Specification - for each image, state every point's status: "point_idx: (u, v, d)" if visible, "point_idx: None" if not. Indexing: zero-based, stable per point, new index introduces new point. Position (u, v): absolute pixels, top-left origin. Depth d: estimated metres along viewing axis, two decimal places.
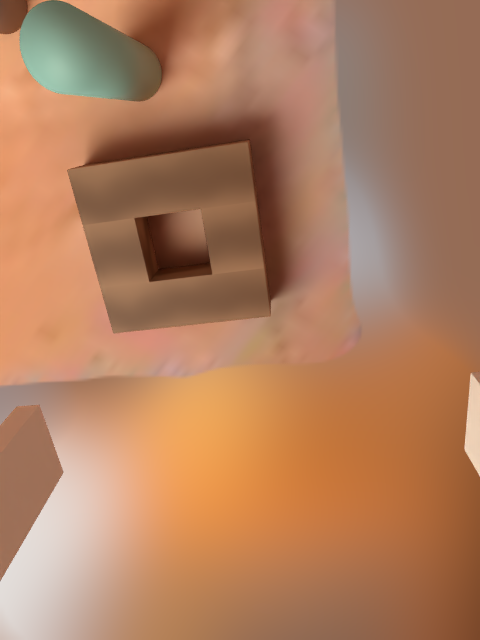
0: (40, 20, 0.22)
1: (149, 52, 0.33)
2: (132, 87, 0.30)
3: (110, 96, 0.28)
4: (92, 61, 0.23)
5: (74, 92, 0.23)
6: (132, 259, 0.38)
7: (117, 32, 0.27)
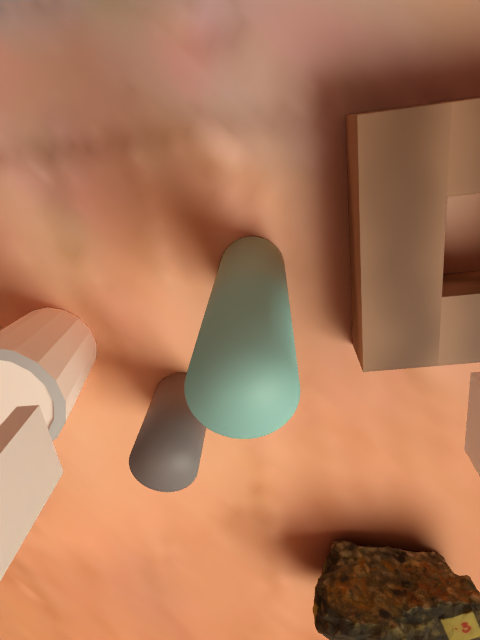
0: (207, 408, 0.16)
1: (232, 251, 0.26)
2: (278, 282, 0.22)
3: (290, 316, 0.21)
4: (259, 352, 0.15)
5: (298, 382, 0.16)
6: None
7: (215, 296, 0.20)
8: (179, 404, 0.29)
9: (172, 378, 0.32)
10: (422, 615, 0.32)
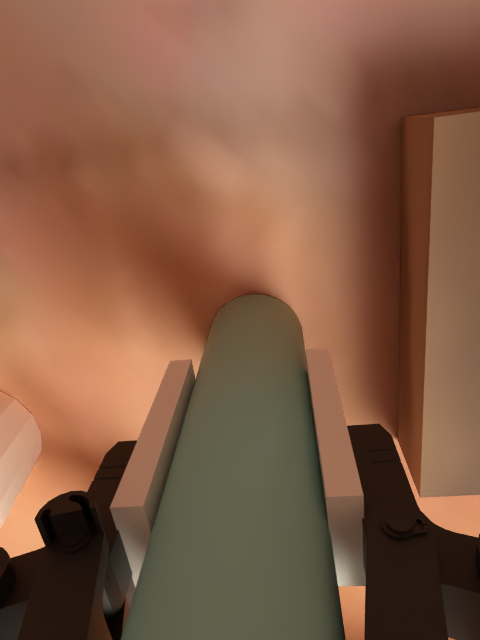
0: None
1: (226, 322, 0.17)
2: (297, 398, 0.13)
3: None
4: None
5: None
6: None
7: (189, 439, 0.11)
8: None
9: None
10: None
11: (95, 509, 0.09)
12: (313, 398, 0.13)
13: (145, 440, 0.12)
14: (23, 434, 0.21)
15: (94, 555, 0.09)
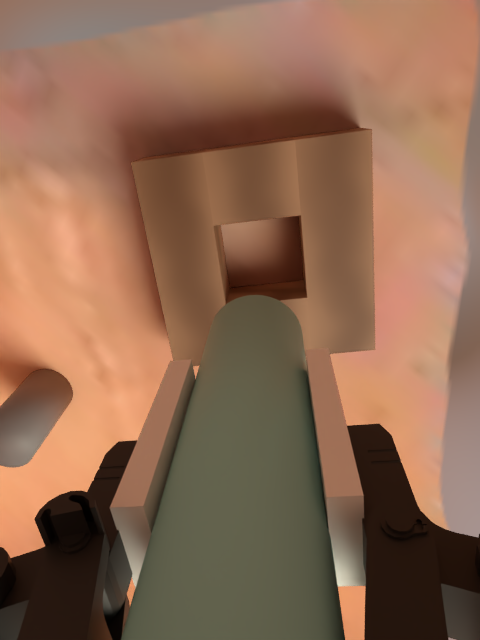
0: None
1: (225, 323, 0.17)
2: (297, 399, 0.13)
3: None
4: None
5: None
6: None
7: (189, 440, 0.11)
8: (29, 395, 0.34)
9: (34, 373, 0.37)
10: None
11: (95, 509, 0.09)
12: (313, 398, 0.13)
13: (145, 440, 0.12)
14: None
15: (94, 555, 0.09)
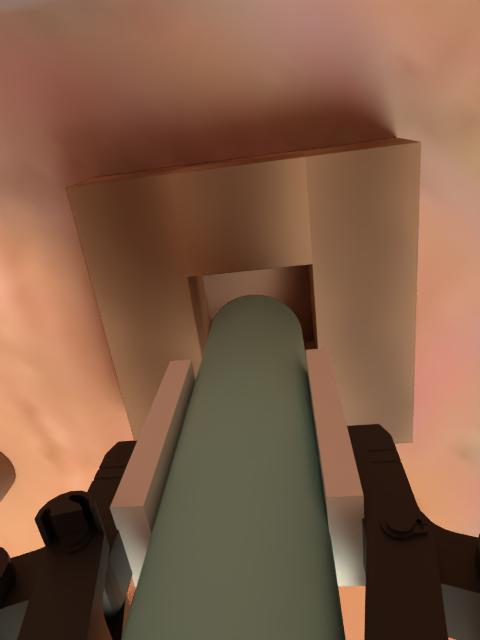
0: None
1: (226, 323, 0.17)
2: (297, 399, 0.13)
3: None
4: None
5: None
6: None
7: (189, 440, 0.11)
8: None
9: None
10: None
11: (95, 509, 0.09)
12: (313, 398, 0.13)
13: (145, 440, 0.12)
14: None
15: (94, 555, 0.09)
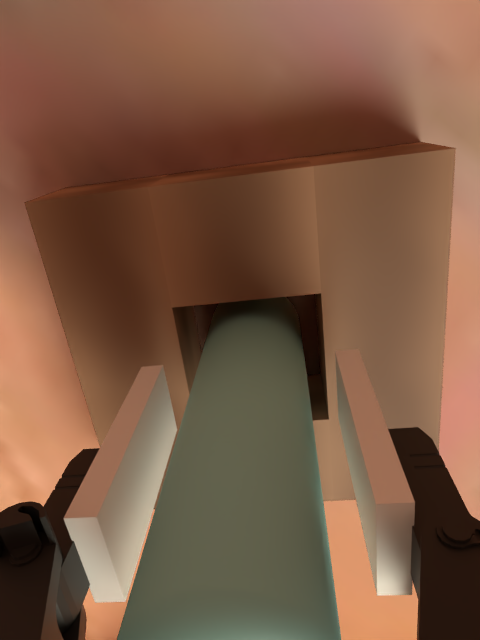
0: None
1: (227, 312, 0.18)
2: (294, 380, 0.14)
3: (315, 443, 0.13)
4: (263, 610, 0.07)
5: None
6: None
7: (193, 415, 0.12)
8: None
9: None
10: None
11: (45, 518, 0.09)
12: (349, 400, 0.12)
13: (107, 448, 0.12)
14: None
15: (46, 565, 0.09)
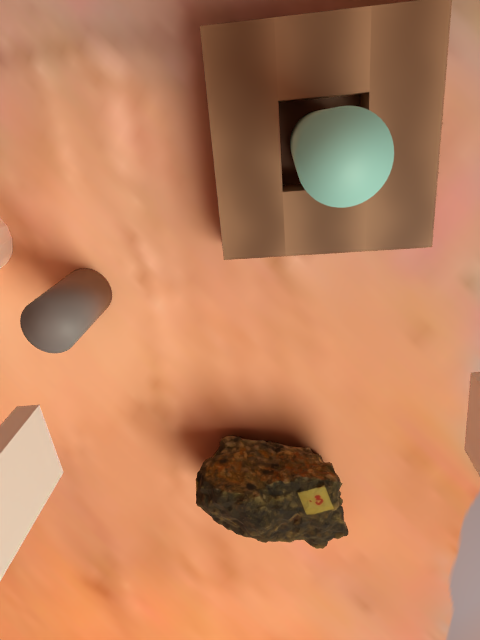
0: (313, 175, 0.19)
1: (307, 114, 0.29)
2: None
3: None
4: (364, 118, 0.18)
5: (392, 151, 0.19)
6: None
7: (307, 119, 0.23)
8: (72, 284, 0.34)
9: (75, 271, 0.37)
10: (282, 489, 0.37)
11: None
12: None
13: None
14: (0, 231, 0.35)
15: None
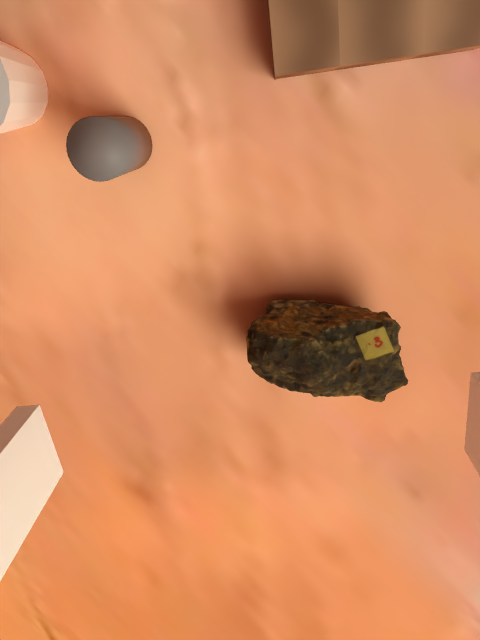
0: None
1: None
2: None
3: None
4: None
5: None
6: None
7: None
8: (115, 117, 0.32)
9: None
10: (339, 334, 0.35)
11: None
12: None
13: None
14: (36, 72, 0.34)
15: None
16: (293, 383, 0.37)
